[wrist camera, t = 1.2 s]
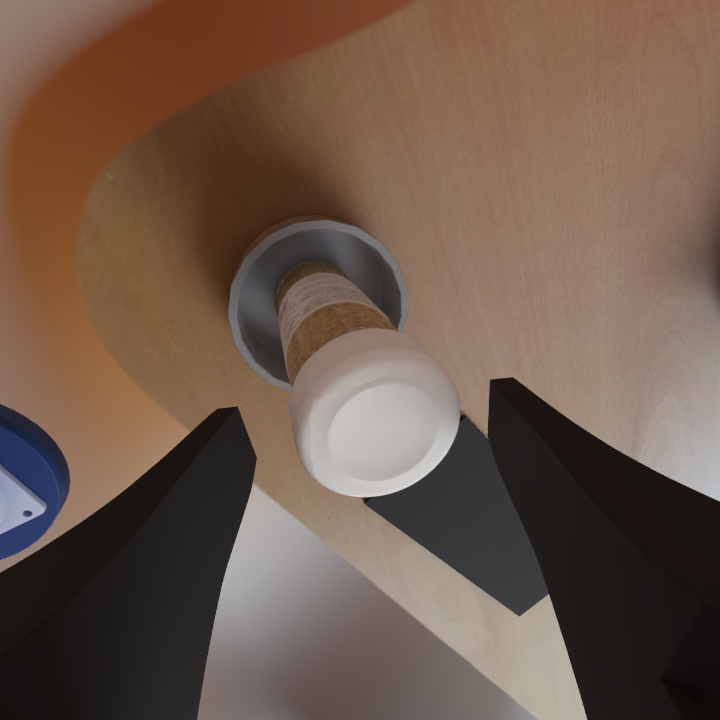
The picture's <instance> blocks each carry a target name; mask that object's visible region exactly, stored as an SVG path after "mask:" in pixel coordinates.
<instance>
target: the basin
mask: <svg viewBox="0 0 720 720" xmlns="http://www.w3.org/2000/svg"><path fill="white" fill-rule="evenodd" d="M312 260H317V261H324V262H327V263H331V264H334V265H335V266H337V267H338V268H339V269H340V270H341V271H343V272H344V273H345V274H346V275H347V277H348V278H349V280H350V281H351V282H352V283H353V284H355V285H356V286H357V287H358V288H359V289H360V290H361V291H362V292H363V293H364V294H365V295H366V296H367V297H368V298H369V299H370V300H371V301H372V302H373V303H374V304H375V305H376V306H377V307H378V308H379V309H380V310H381V311H382V312H383V313H384V314H385V315H386V316H387V317H388V318H389V320H390V322H391V324H392V325H393V326H394V327H395V328H396V329H397V330H398V331H399V332H400V333H403V332H404V329H405V325H406V322H407V318H408V291H407V287H406V284H405V281H404V278H403V275H402V272H401V269H400V267H399V265H398V263H397V262H396V260H395V259H394V258H393V256H392V255H391V254H390V253H389V251H388V250H387V249H386V247H385V246H384V245H383V244H382V243H381V242H380V241H379V240H377V239H376V238H374V237H372V236H371V235H369V234H368V233H366V232H365V231H363V230H362V229H360V228H359V227H356V226H354V225H352V224H349V223H347V222H345V221H342V220H338V219H334V218H330V217H326V216H321V215H305V216H297V217H291V218H288V219H286V220H283V221H280V222H278V223H276V224H274V225H272V226H270V227H268V228H266V229H265V230H264V231H263V232H262V233H260V234H259V235H258V236H257V237H256V238H255V239H254V240H253V241H252V242H251V243H250V244H249V245H248V246H247V248H246V249H245V251H244V253H243V255H242V257H241V259H240V261H239V263H238V265H237V267H236V269H235V272H234V276H233V280H232V284H231V290H230V298H229V307H228V319H229V323H230V328H231V332H232V336H233V341H234V343H235V345H236V347H237V348H238V350H239V351H240V353H241V355H242V356H243V358H244V359H245V361H246V363H247V364H248V365H249V367H251V368H252V369H253V370H254V371H255V372H257V373H258V374H259V375H260V376H261V377H263V378H264V379H265V380H266V381H267V382H269V383H271V384H273V385H276V386H278V387H280V388H283V389H285V390H288V391H290V392H291V391H292V388H291V384H290V379H289V377H288V374H287V370H286V364H285V358H284V353H283V347H282V341H281V335H280V329H279V322H278V316H277V313H276V308H275V302H274V301H275V293H276V290H277V286H278V283H279V282H280V280H281V278H282V277H283V276H284V275H285V273H286V272H287V271H288V270H290V269H291V268H292V267H294V266H296V265H298V264H300V263H301V262H305V261H312Z"/></svg>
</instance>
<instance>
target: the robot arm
mask: <svg viewBox="0 0 720 720" xmlns="http://www.w3.org/2000/svg"><path fill="white" fill-rule="evenodd" d="M488 439H489V442H490V446H491V449H492V452H493V456H494V459H495V462H496V465H497V468H498V471H499V473H500V475H501V478H502V480H503V482H504V484H505V487H506V489H507V491H508V493H509V496H510V498H511V500H512V502H513V504H514V507H515V509H516V511H517V513H518V516H519V518H520V520H521V522H522V524H523V527H524V529H525V531H526V533H527V536H528V538H529V540H530V542H531V545H532V547H533V550H534V552H535V555H536V557H537V560H538V563H539V566H540V569H541V572H542V575H543V578H544V580H545V583H546V586H547V589H548V592H549V595H550V598H551V601H552V604H553V608H554V611H555V614H556V617H557V620H558V623H559V626H560V629H561V633H562V636H563V639H564V642H565V645H566V649H567V652H568V655H569V659H570V662H571V665H572V668H573V672H574V675H575V678H576V682H577V685H578V688H579V692H580V695H581V699H582V702H583V706H584V709H585V713H586V716H587V720H720V501H717V500H715V499H713V498H710V497H708V496H706V495H704V494H702V493H700V492H698V491H695V490H693V489H691V488H689V487H687V486H685V485H683V484H680V483H678V482H676V481H674V480H672V479H670V478H668V477H666V476H664V475H662V474H660V473H658V472H656V471H654V470H652V469H650V468H649V467H647V466H645V465H643V464H641V463H639V462H638V461H636V460H634V459H632V458H630V457H628V456H627V455H625V454H623V453H621V452H620V451H618V450H616V449H614V448H613V447H611V446H609V445H608V444H606V443H605V442H603V441H601V440H600V439H598V438H597V437H595V436H594V435H592V434H590V433H589V432H587V431H586V430H584V429H583V428H581V427H580V426H578V425H577V424H575V423H574V422H572V421H571V420H570V419H568V418H567V417H565V416H564V415H562V414H561V413H560V412H558V411H557V410H556V409H554V408H553V407H551V406H550V405H549V404H547V403H546V402H545V401H543V400H542V399H541V398H539V397H538V396H537V395H535V394H534V393H533V392H532V391H530V390H529V389H528V388H526V387H525V386H524V385H522V384H521V383H520V382H518V381H517V380H516V379H514V378H513V377H511V378H502V379H492V380H490V393H489V416H488ZM256 460H257V457H256V454H255V452H254V449H253V446H252V444H251V441H250V438H249V436H248V433H247V430H246V428H245V425H244V422H243V420H242V417H241V414H240V412H239V409H238V407H230V408H220V409H217V410H215V411H214V412H213V413H212V414H211V415H209V416H208V417H207V418H206V419H205V420H204V421H203V422H202V423H200V424H199V425H198V426H197V427H196V428H195V429H194V430H193V431H192V432H191V433H190V434H189V435H187V436H186V437H185V438H184V439H183V440H182V441H181V442H180V443H179V444H178V445H177V446H176V447H174V448H173V449H172V450H171V451H170V452H169V453H168V454H167V455H166V456H165V457H163V458H162V459H161V460H160V461H159V462H158V463H157V464H155V465H154V466H153V467H152V468H151V469H149V470H148V471H147V472H146V473H145V474H143V475H142V476H141V477H140V478H139V479H138V480H136V481H135V482H134V483H133V484H132V485H131V486H129V487H128V488H127V489H126V490H124V491H123V492H122V493H120V494H119V495H118V496H117V497H116V498H114V499H113V500H111V501H110V502H109V503H107V504H106V505H105V506H103V507H102V508H100V509H99V510H98V511H96V512H95V513H94V514H92V515H91V516H89V517H88V518H87V519H85V520H84V521H82V522H81V523H80V524H78V525H76V526H75V527H73V528H72V529H70V530H69V531H67V532H66V533H64V534H63V535H61V536H60V537H58V538H56V539H55V540H53V541H52V542H50V543H49V544H47V545H46V546H44V547H43V548H41V549H40V550H38V551H36V552H35V553H33V554H32V555H30V556H28V557H26V558H25V559H23V560H21V561H20V562H18V563H17V564H15V565H13V566H11V567H10V568H8V569H6V570H4V571H3V572H1V573H0V720H197V715H198V709H199V702H200V697H201V690H202V685H203V679H204V672H205V667H206V661H207V655H208V650H209V645H210V639H211V635H212V629H213V624H214V619H215V615H216V610H217V605H218V601H219V596H220V591H221V587H222V582H223V579H224V575H225V572H226V568H227V564H228V561H229V558H230V555H231V552H232V549H233V545H234V543H235V540H236V537H237V533H238V530H239V527H240V524H241V521H242V518H243V515H244V511H245V509H246V505H247V502H248V499H249V495H250V492H251V488H252V483H253V478H254V472H255V466H256ZM46 508H47V504H46V503H45V502H44V501H43V500H41V499H40V498H39V497H38V496H37V495H36V494H34V493H33V492H32V491H31V490H30V489H29V488H27V487H26V486H25V485H24V484H23V483H22V482H20V481H19V480H18V479H17V478H16V477H15V476H13V475H12V474H11V473H10V472H9V471H8V470H6V469H5V468H4V467H3V466H2V465H1V464H0V534H2V533H4V532H6V531H8V530H10V529H12V528H14V527H16V526H18V525H20V524H23V523H25V522H27V521H29V520H31V519H33V518H35V517H37V516H39V515H41V514H43V513H44V511H45V510H46ZM26 510H27V511H26ZM28 511H31V512H28Z"/></svg>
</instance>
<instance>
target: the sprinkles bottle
mask: <svg viewBox="0 0 720 720" xmlns="http://www.w3.org/2000/svg"><path fill="white" fill-rule="evenodd" d="M274 302H275V308H276V313H277V316H278V322H279V329H280V335H281V341H282V347H283V353H284V358H285V364H286V370H287V374H288V377H289V379H290V384H291V388H292V391H291V395H290V404H289V407H290V418H291V425H292V430H293V434H294V439H295V443H296V447H297V451H298V454H299V457H300V459H301V461H302V463H303V465H304V466H305V468H306V470H307V471H308V472H309V473H310V475H311V476H312V477H313V478H315V479H316V480H317V481H318V482H319V483H320V484H322V485H323V486H325V487H327V488H328V489H330V490H332V491H335V492H337V493H340V494H344V495H348V496H354V497H374V496H382V495H387V494H391V493H394V492H397V491H399V490H402V489H404V488H406V487H408V486H410V485H412V484H414V483H416V482H417V481H419V480H420V479H422V478H423V477H424V476H426V475H427V474H428V473H429V472H431V471H432V470H433V469H434V468H435V467H436V466H437V465H438V464H439V463H440V461H441V460H442V459H443V458H444V456H445V455H446V454H447V452H448V450H449V449H450V447H451V445H452V443H453V441H454V439H455V436H456V433H457V430H458V426H459V421H460V401H459V396H458V392H457V389H456V387H455V384H454V382H453V380H452V378H451V377H450V375H449V374H448V373H447V372H446V370H445V369H444V368H443V367H442V366H441V365H440V364H439V362H438V361H437V360H436V359H435V358H434V357H433V356H432V355H431V354H430V353H429V352H428V351H427V350H426V349H425V348H424V347H423V346H421V345H420V344H419V343H418V342H417V341H415V340H414V339H412V338H411V337H409V336H407V335H405V334H403V333H400V332H399V331H398V330H397V329H396V328H395V327H394V326H393V325H392V324H391V322H390V320H389V318H388V317H387V316H386V315H385V314H384V313H383V312H382V311H381V310H380V309H379V308H378V307H377V306H376V305H375V304H374V303H373V302H372V301H371V300H370V299H369V298H368V297H367V296H366V295H365V294H364V293H363V292H362V291H361V290H360V289H359V288H358V287H357V286H356V285H355V284H353V283H352V282H351V281H350V280H349V278H348V277H347V275H346V274H345V273H344V272H343V271H341V270H340V269H339V268H338V267H337V266H335V265H334V264H331V263H327V262H324V261H317V260H312V261H305V262H301V263H300V264H298V265H296V266H294V267H292V268H291V269H290V270H288V271H287V272H286V273H285V275H284V276H283V277H282V278H281V280H280V282H279V283H278V286H277V290H276V293H275V301H274Z"/></svg>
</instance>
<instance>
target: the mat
mask: <svg viewBox="0 0 720 720" xmlns="http://www.w3.org/2000/svg"><path fill="white" fill-rule="evenodd" d="M364 504H365V505H367V506H368V507H370V508H371V509H372V510H374V511H375V512H376V513H378V514H379V515H381V516H382V517H383V518H385V519H386V520H387V521H389V522H390V523H392V524H393V525H394V526H396V527H397V528H398V529H400V530H401V531H403V532H404V533H405V534H407V535H408V536H409V537H411V538H412V539H414V540H415V541H416V542H418V543H419V544H420V545H422V546H423V547H425V548H426V549H427V550H429V551H430V552H431V553H433V554H434V555H436V556H437V557H438V558H440V559H441V560H442V561H444V562H445V563H447V564H448V565H449V566H451V567H452V568H453V569H455V570H456V571H458V572H459V573H460V574H462V575H463V576H464V577H466V578H467V579H469V580H470V581H471V582H473V583H474V584H475V585H477V586H478V587H480V588H481V589H482V590H484V591H485V592H486V593H488V594H489V595H491V596H492V597H493V598H495V599H496V600H497V601H499V602H500V603H502V604H503V605H504V606H506V607H507V608H508V609H510V610H511V611H513V612H514V613H515V614H517V615H518V616H521V615H522V614H523V613H525V612H526V611H527V610H528V609H530V608H531V607H532V606H534V605H535V604H536V603H538V602H539V601H540V600H541V599H543V598H544V597H545V596H547V595H548V594H549V592H548V589H547V586H546V583H545V580H544V578H543V575H542V572H541V569H540V566H539V563H538V560H537V557H536V555H535V552H534V550H533V547H532V545H531V542H530V540H529V538H528V536H527V533H526V531H525V529H524V527H523V524H522V522H521V520H520V518H519V516H518V513H517V511H516V509H515V507H514V504H513V502H512V500H511V498H510V496H509V493H508V491H507V489H506V487H505V484H504V482H503V480H502V478H501V475H500V473H499V471H498V468H497V465H496V462H495V459H494V456H493V452H492V449H491V446H490V442H489V441H488V440H487V439H486V438H485V437H484V436H483V434H482V433H481V432H480V431H479V430H478V429H477V428H476V427H475V426H474V425H473V423H472V422H471V421H470V420H469V419H468V418H467V417H466V416H465V415H464V416H463V417H461V418H460V421H459V426H458V430H457V433H456V436H455V439H454V441H453V443H452V445H451V447H450V449H449V450H448V452H447V454H446V455H445V456H444V458H443V459H442V460H441V461H440V463H439V464H438V465H437V466H436V467H435V468H434V469H433V470H432V471H431V472H429V473H428V474H427V475H426V476H424V477H423V478H422V479H420V480H419V481H417V482H416V483H414V484H412V485H410V486H408V487H406V488H404V489H402V490H399V491H397V492H394V493H391V494H387V495H382V496H374V497H368V498H367V499H366V500H364Z"/></svg>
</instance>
